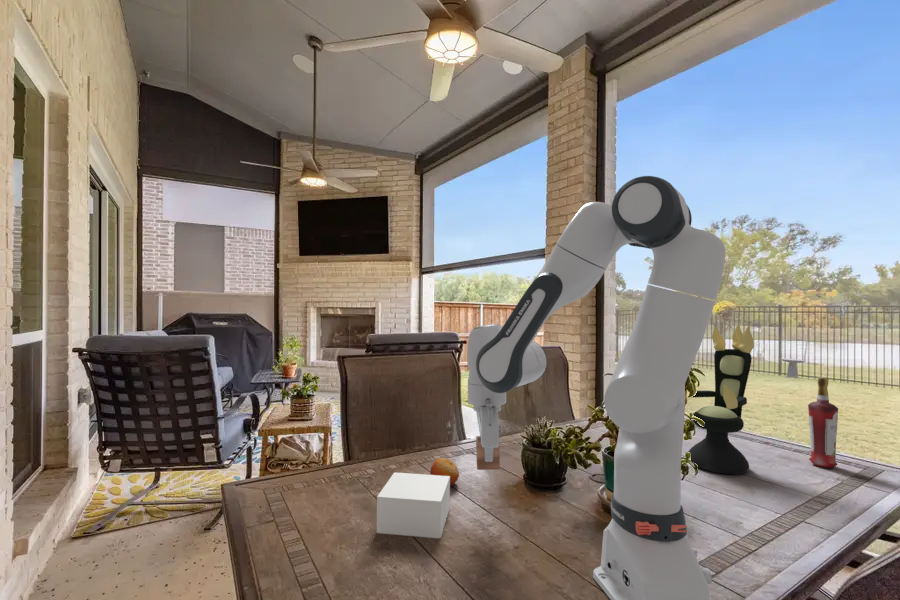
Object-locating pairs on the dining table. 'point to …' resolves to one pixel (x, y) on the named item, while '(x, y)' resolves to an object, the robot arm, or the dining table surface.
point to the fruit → (445, 469)
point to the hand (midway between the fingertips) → (487, 456)
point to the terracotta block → (481, 457)
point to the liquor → (823, 427)
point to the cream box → (414, 505)
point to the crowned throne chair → (725, 406)
